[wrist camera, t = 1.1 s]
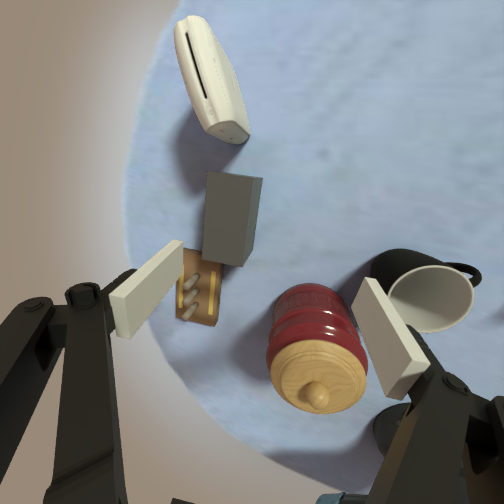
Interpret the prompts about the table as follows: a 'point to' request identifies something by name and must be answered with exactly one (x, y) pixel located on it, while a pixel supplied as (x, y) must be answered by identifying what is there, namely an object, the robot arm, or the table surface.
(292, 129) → the table surface
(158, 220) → the table surface
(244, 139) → the photo printer
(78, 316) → the robot arm
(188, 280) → the block
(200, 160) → the table surface
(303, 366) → the canister
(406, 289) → the mug
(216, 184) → the grey bevelled block
